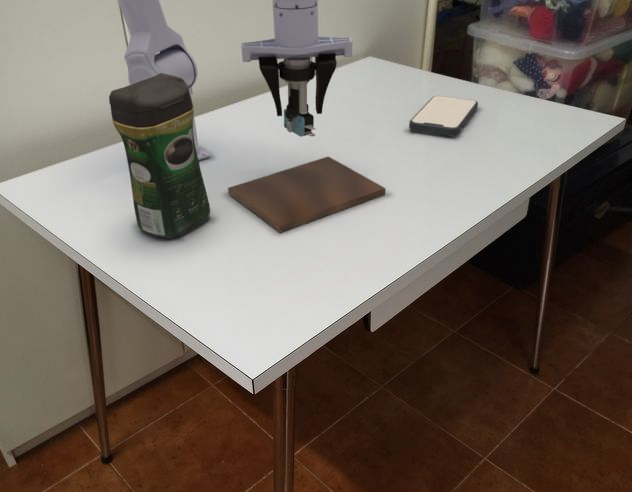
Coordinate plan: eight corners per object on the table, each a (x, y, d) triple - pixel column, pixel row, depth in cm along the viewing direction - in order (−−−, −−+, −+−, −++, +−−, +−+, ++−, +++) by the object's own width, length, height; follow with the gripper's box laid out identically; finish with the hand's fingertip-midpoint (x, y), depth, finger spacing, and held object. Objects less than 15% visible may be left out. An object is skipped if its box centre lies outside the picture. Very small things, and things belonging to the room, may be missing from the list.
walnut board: (280, 232, 82) (279, 226, 81) (228, 194, 91) (227, 187, 90) (385, 194, 90) (385, 188, 89) (328, 162, 98) (328, 156, 98)
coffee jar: (179, 201, 89) (155, 64, 77) (220, 216, 86) (201, 75, 74) (127, 229, 84) (92, 85, 71) (168, 246, 80) (138, 98, 68)
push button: (328, 136, 89) (330, 61, 82) (297, 143, 86) (296, 67, 80) (303, 121, 93) (302, 49, 86) (272, 128, 90) (269, 55, 84)
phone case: (432, 103, 118) (406, 131, 107) (433, 94, 117) (407, 122, 106) (478, 109, 115) (456, 139, 104) (480, 100, 114) (458, 129, 103)
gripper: (347, -5, 82) (346, 99, 91) (237, 0, 81) (247, 105, 90) (355, 7, 77) (353, 117, 86) (237, 12, 76) (248, 123, 85)
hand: (299, 112), depth 88 cm, fingers closed on push button, 5 cm apart
